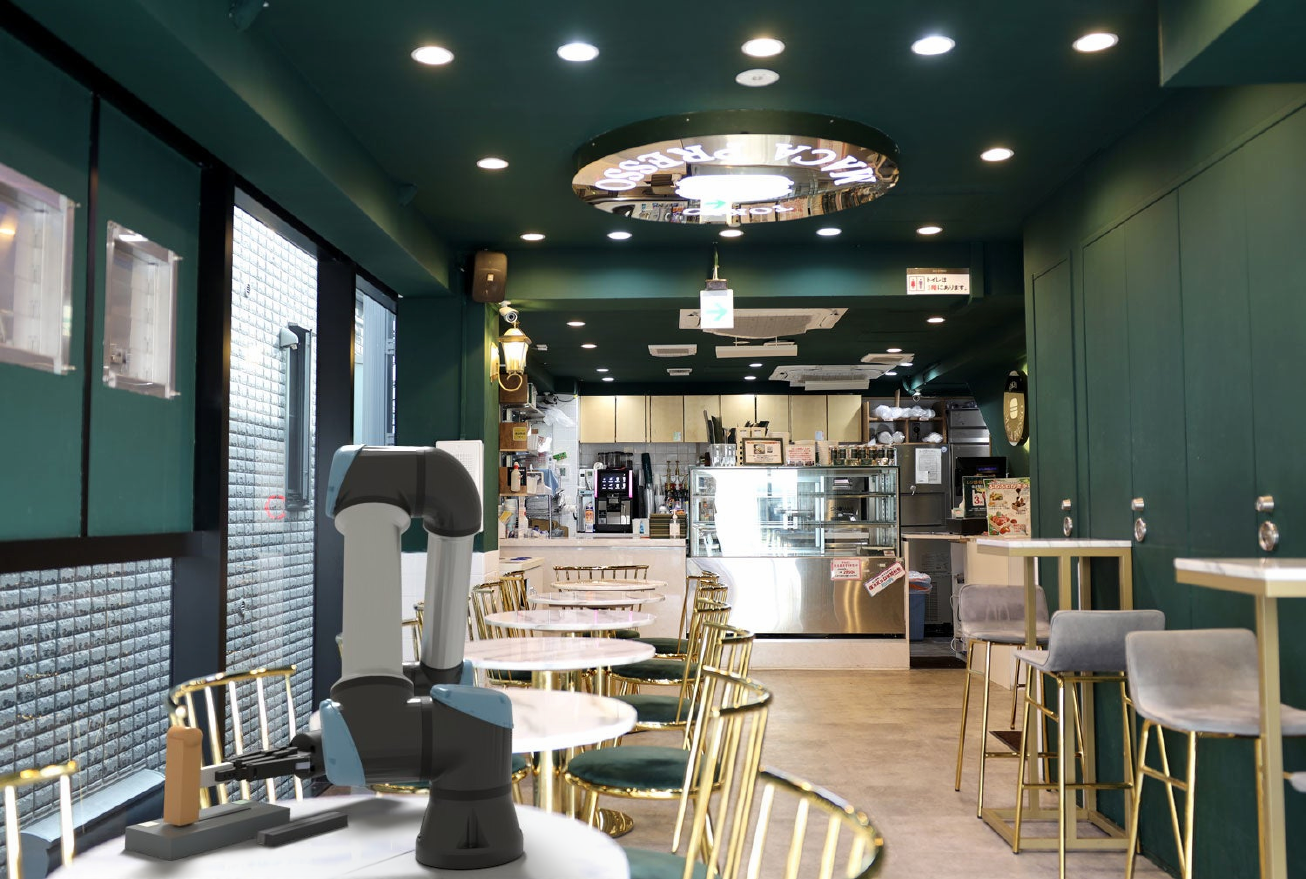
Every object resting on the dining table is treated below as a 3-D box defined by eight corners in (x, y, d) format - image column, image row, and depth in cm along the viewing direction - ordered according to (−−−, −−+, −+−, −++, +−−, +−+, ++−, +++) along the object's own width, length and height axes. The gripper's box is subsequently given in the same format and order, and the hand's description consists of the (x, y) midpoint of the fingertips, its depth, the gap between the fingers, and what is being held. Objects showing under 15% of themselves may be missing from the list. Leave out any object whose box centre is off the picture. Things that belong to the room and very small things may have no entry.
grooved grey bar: (347, 824, 165) (347, 814, 165) (272, 846, 153) (272, 835, 153) (332, 821, 167) (333, 811, 167) (257, 842, 155) (257, 831, 155)
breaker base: (289, 827, 163) (290, 806, 163) (170, 860, 146) (171, 836, 146) (244, 818, 169) (244, 797, 169) (124, 848, 152) (125, 825, 152)
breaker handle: (200, 821, 154) (204, 726, 155) (182, 826, 151) (186, 729, 152) (180, 816, 156) (183, 723, 158) (161, 821, 154) (165, 726, 155)
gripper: (346, 780, 172) (217, 812, 152) (293, 770, 179) (164, 800, 159) (347, 733, 173) (219, 758, 153) (295, 725, 180) (166, 749, 160)
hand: (191, 779), depth 156 cm, fingers closed
